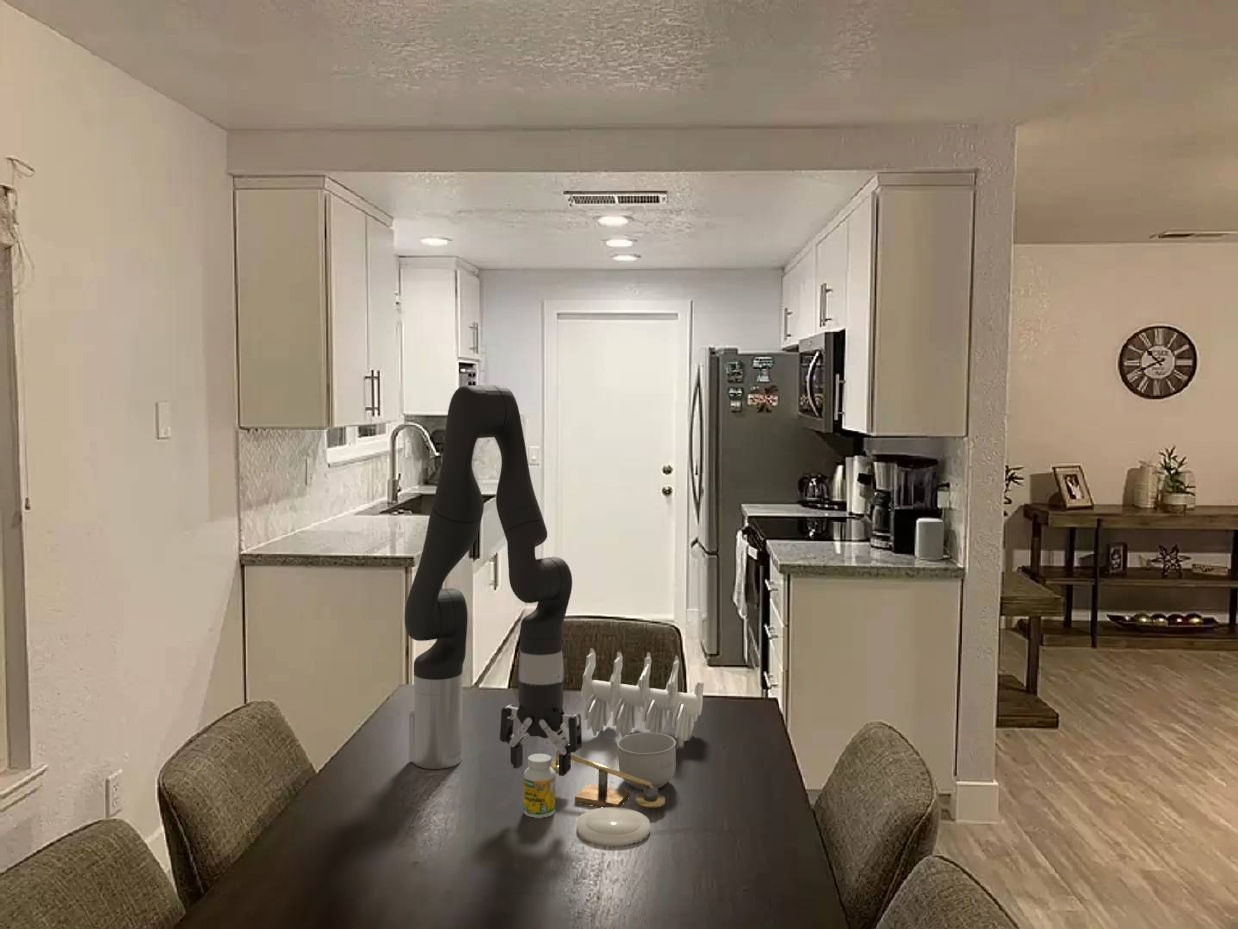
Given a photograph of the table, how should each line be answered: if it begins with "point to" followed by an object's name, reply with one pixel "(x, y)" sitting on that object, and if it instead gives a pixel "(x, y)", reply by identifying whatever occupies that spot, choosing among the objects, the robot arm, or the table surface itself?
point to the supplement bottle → (539, 787)
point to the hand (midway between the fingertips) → (540, 770)
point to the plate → (613, 826)
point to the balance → (611, 796)
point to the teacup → (647, 757)
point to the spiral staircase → (638, 701)
